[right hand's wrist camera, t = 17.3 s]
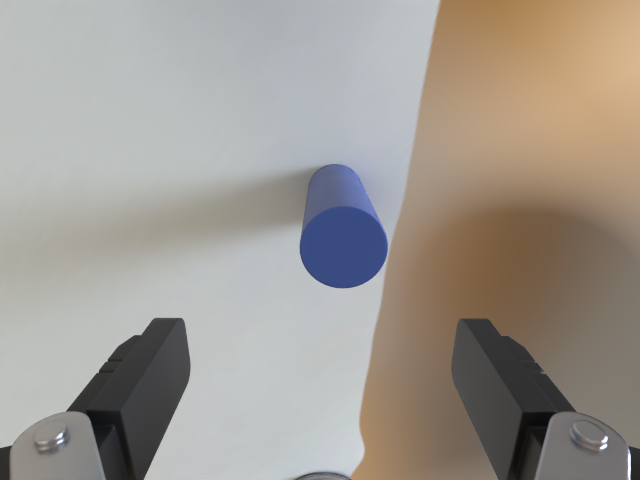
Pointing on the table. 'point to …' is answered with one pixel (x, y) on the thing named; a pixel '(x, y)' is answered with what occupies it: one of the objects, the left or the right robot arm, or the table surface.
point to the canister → (341, 230)
